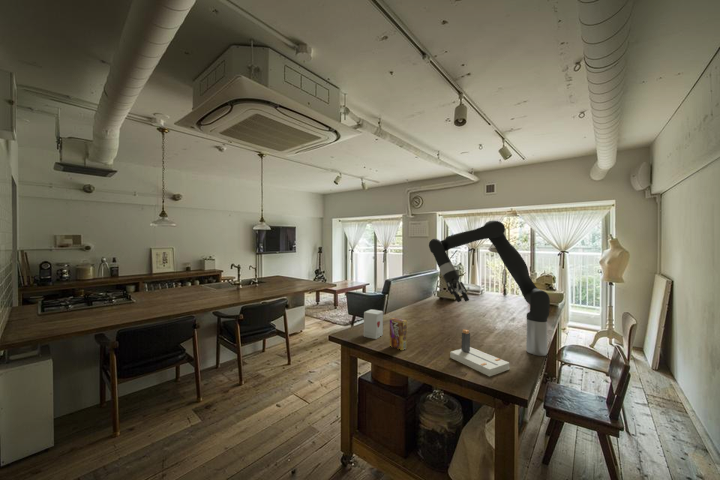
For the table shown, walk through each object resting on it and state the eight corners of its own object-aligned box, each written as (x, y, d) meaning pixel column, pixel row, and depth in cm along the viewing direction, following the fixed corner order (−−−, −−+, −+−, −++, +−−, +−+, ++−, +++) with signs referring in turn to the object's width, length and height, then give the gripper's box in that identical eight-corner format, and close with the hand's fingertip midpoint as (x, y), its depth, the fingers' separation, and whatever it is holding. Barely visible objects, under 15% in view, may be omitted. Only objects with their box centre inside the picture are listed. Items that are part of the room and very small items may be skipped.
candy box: (407, 348, 151) (407, 320, 151) (402, 351, 148) (402, 322, 148) (393, 344, 158) (393, 317, 158) (389, 346, 154) (389, 318, 154)
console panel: (469, 352, 147) (469, 346, 147) (509, 369, 128) (509, 362, 128) (450, 357, 140) (450, 351, 140) (489, 376, 121) (489, 368, 121)
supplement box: (376, 339, 165) (376, 314, 165) (363, 336, 170) (363, 311, 170) (383, 335, 173) (383, 310, 173) (370, 332, 177) (370, 308, 177)
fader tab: (465, 349, 143) (465, 329, 143) (470, 351, 140) (470, 330, 140) (461, 350, 141) (461, 330, 141) (465, 352, 139) (466, 331, 139)
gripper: (448, 268, 143) (463, 298, 135) (461, 269, 153) (476, 297, 145) (436, 275, 147) (451, 305, 139) (449, 276, 157) (463, 303, 149)
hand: (463, 301), depth 142 cm, fingers open, 8 cm apart
